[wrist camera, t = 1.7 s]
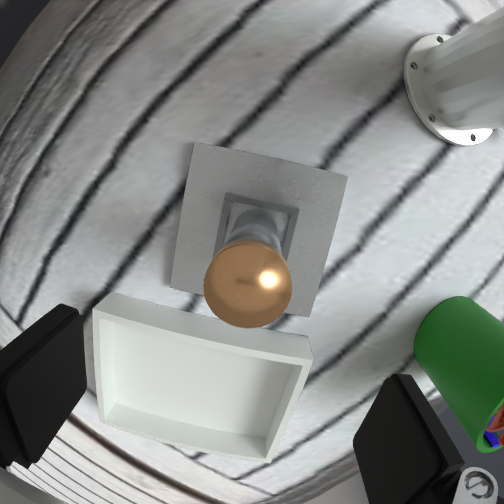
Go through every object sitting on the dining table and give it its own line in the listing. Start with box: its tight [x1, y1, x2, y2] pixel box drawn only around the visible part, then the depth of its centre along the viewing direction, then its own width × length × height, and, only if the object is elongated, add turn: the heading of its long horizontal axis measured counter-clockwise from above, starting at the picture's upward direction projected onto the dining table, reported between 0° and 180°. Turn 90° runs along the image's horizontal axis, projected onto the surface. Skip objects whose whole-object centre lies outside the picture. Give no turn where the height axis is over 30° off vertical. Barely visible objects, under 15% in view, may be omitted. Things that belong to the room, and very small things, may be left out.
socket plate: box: [170, 142, 348, 317], centre depth 29 cm, size 14×14×2 cm
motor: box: [414, 296, 504, 453], centre depth 23 cm, size 10×9×20 cm
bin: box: [93, 292, 314, 463], centre depth 32 cm, size 22×17×4 cm
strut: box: [203, 212, 292, 328], centre depth 22 cm, size 4×4×14 cm
